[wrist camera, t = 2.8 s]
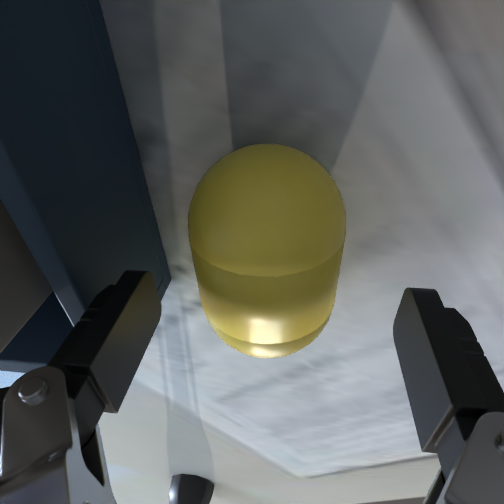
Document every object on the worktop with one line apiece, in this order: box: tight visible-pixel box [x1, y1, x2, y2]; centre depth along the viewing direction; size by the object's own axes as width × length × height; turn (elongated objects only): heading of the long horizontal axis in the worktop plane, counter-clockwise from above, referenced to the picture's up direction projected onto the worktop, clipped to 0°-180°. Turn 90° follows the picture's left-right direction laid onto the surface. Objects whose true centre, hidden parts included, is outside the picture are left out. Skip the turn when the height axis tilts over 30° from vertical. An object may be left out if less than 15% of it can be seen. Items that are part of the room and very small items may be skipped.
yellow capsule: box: [188, 144, 346, 358], centre depth 12 cm, size 8×5×5 cm, turn 3°
